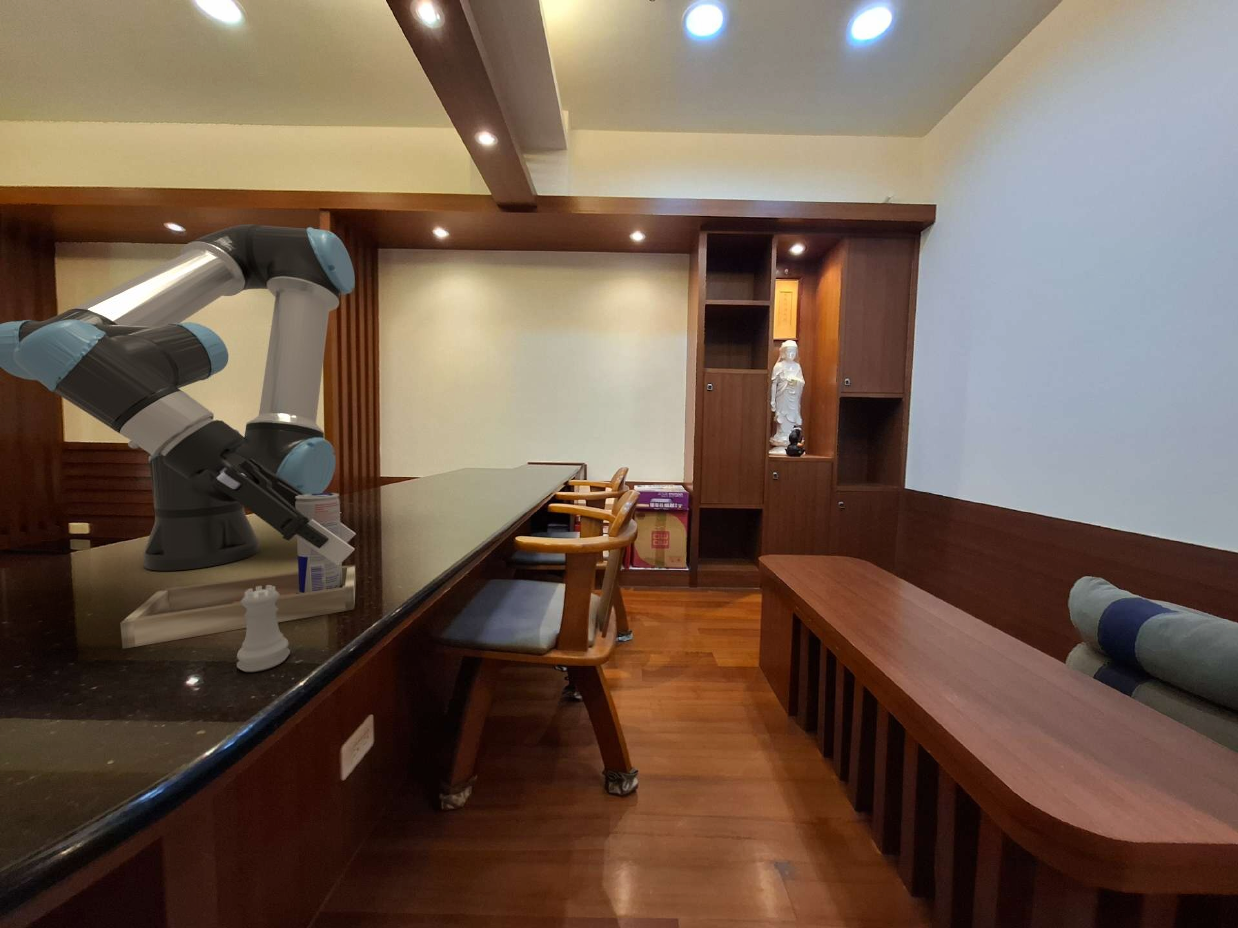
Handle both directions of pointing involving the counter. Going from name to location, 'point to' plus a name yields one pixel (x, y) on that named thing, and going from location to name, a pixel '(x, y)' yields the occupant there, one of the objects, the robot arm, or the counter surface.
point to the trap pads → (279, 596)
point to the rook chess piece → (261, 632)
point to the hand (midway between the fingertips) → (347, 548)
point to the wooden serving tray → (227, 607)
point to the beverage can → (312, 564)
